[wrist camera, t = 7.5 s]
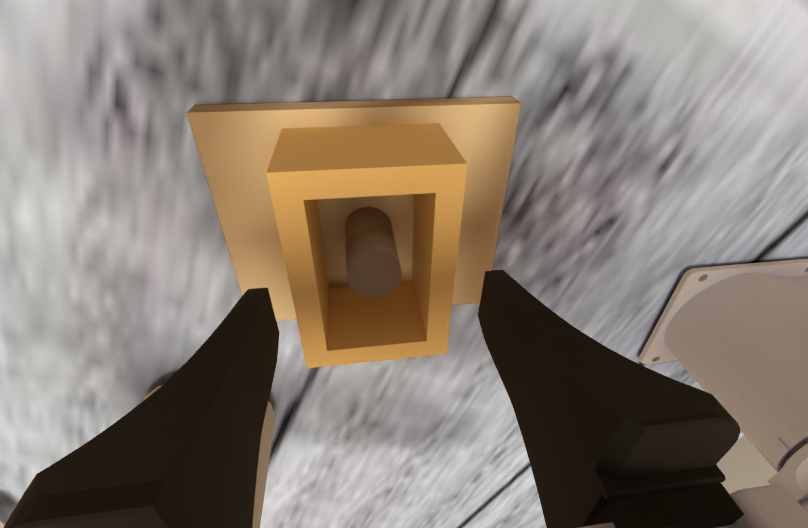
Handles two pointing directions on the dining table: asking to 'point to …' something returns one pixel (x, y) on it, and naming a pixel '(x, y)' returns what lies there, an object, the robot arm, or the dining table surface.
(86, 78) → the dining table surface
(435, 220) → the link
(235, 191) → the wooden block with peg
